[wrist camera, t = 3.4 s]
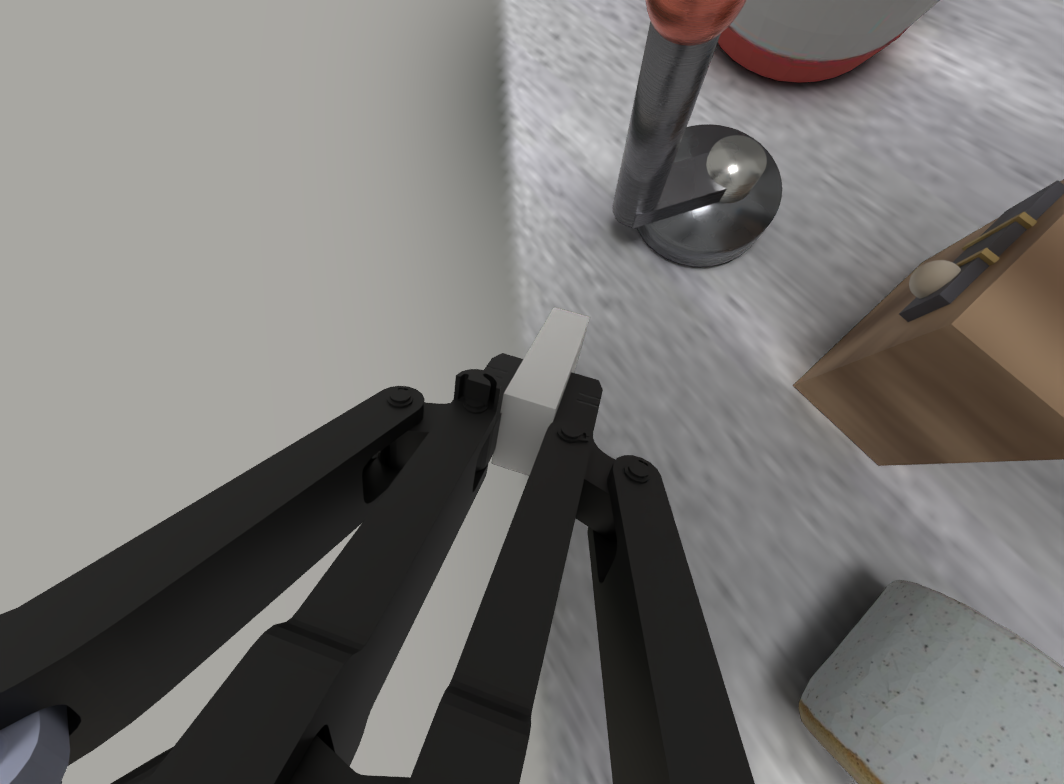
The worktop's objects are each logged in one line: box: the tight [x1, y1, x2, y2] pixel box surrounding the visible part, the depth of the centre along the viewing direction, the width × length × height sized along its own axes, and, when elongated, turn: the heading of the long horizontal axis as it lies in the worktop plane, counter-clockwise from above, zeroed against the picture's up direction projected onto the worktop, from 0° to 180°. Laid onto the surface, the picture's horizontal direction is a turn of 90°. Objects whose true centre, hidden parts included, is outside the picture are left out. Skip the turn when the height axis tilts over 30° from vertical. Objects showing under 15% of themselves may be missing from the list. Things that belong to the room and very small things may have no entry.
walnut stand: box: [793, 179, 1064, 466], centre depth 20 cm, size 11×8×10 cm
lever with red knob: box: [613, 0, 782, 267], centre depth 19 cm, size 10×8×15 cm
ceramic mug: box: [799, 580, 1064, 784], centre depth 17 cm, size 11×8×8 cm
